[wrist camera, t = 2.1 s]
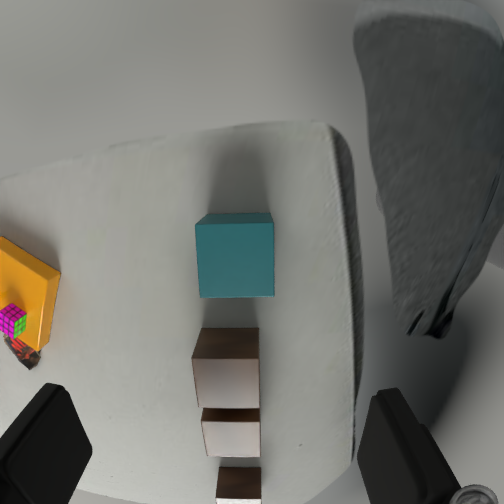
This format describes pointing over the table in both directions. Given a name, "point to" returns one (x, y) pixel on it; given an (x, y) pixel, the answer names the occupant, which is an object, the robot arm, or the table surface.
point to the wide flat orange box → (26, 295)
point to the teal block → (235, 255)
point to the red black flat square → (23, 352)
